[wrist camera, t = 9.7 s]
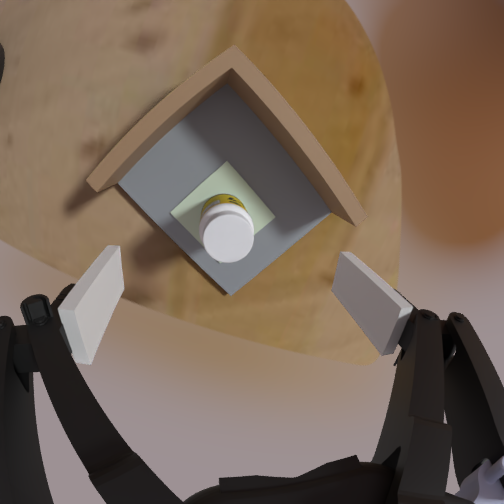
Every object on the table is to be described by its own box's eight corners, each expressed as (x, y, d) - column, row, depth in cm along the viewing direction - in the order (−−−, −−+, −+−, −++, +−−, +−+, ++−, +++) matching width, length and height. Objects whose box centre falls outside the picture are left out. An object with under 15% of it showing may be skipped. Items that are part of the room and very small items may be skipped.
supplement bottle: (254, 217, 30) (271, 243, 22) (220, 244, 30) (225, 279, 22) (226, 183, 28) (233, 197, 20) (191, 211, 28) (184, 236, 21)
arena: (110, 172, 26) (85, 180, 20) (228, 66, 24) (234, 44, 18) (230, 292, 34) (235, 325, 27) (338, 202, 31) (367, 216, 25)
